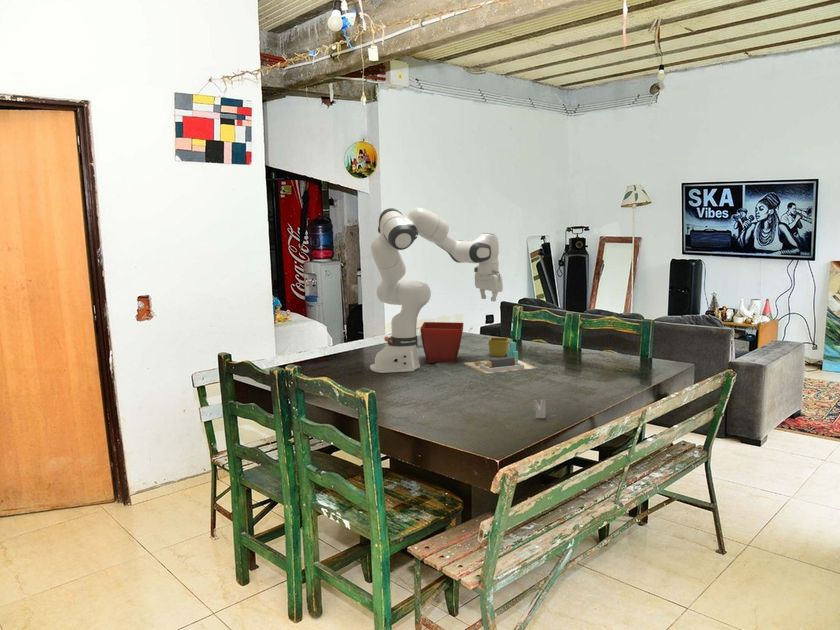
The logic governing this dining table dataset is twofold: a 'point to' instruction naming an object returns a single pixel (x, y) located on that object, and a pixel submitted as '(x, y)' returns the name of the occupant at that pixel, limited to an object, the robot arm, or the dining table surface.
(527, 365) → the board
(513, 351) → the teal stepped block
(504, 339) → the flower pot
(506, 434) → the dining table surface
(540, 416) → the architectural model
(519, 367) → the tray
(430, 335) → the plant pot
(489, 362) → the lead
